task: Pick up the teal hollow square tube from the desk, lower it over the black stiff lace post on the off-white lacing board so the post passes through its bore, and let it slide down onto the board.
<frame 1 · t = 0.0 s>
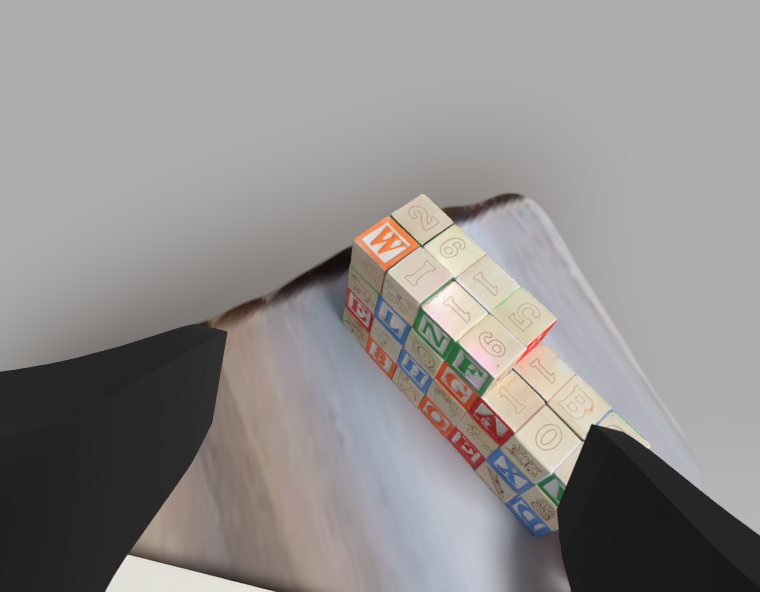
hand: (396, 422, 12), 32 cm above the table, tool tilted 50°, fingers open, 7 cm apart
stack of blocks: (458, 400, 47), on the table
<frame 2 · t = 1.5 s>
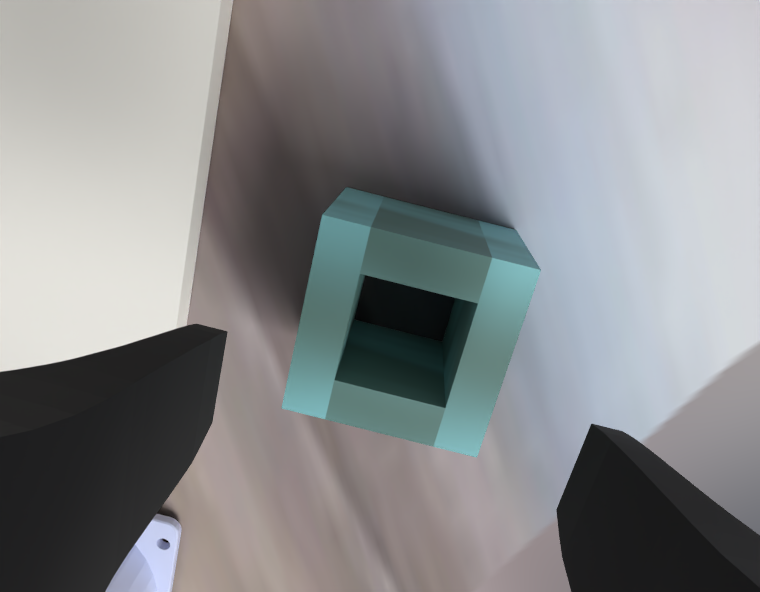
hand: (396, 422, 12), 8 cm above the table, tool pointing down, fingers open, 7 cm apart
teal hollow square tube: (409, 288, 20), on the table
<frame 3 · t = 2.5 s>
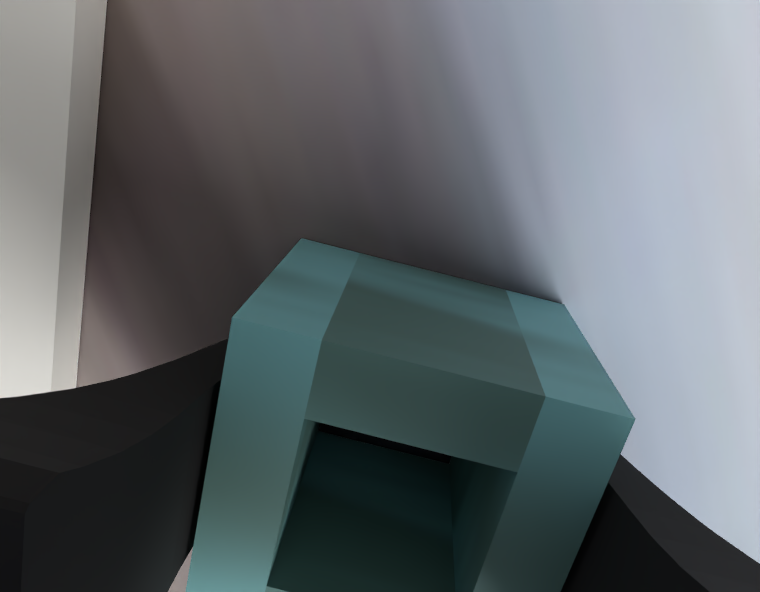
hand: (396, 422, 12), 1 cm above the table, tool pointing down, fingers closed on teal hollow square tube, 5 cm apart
teal hollow square tube: (399, 388, 13), on the table, touching gripper
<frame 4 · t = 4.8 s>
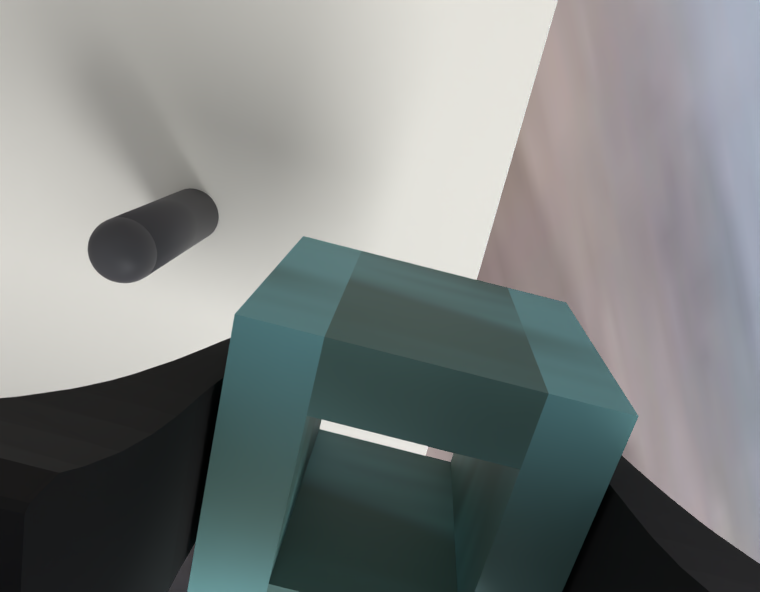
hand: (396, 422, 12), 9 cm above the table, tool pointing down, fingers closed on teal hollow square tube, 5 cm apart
teal hollow square tube: (401, 386, 13), point 7 cm above the table, touching gripper
lacing board: (204, 208, 20), on the table
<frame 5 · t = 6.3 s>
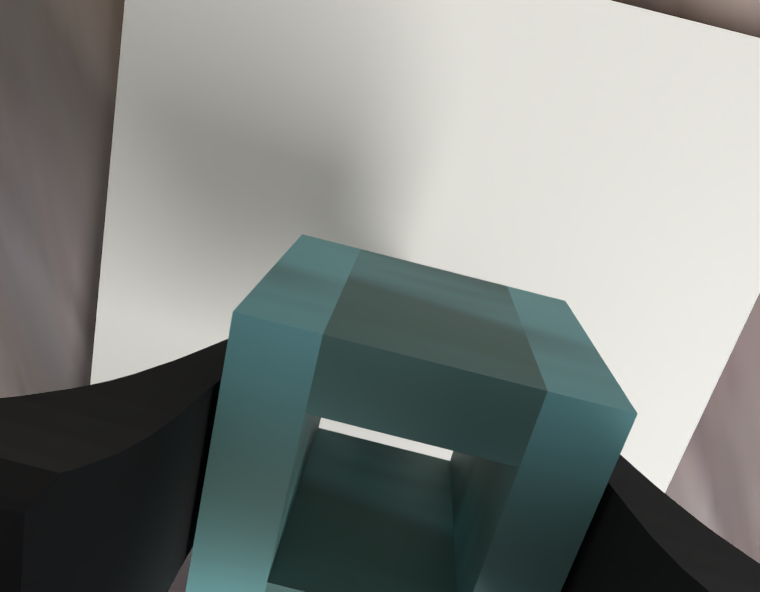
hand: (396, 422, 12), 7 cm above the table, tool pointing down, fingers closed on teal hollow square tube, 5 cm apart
teal hollow square tube: (400, 385, 13), point 6 cm above the table, touching gripper
lacing board: (409, 303, 18), on the table
when the fingers open (4 cm above the table, at t = 7.4 s): teal hollow square tube drops 2 cm, resting on lacing board.
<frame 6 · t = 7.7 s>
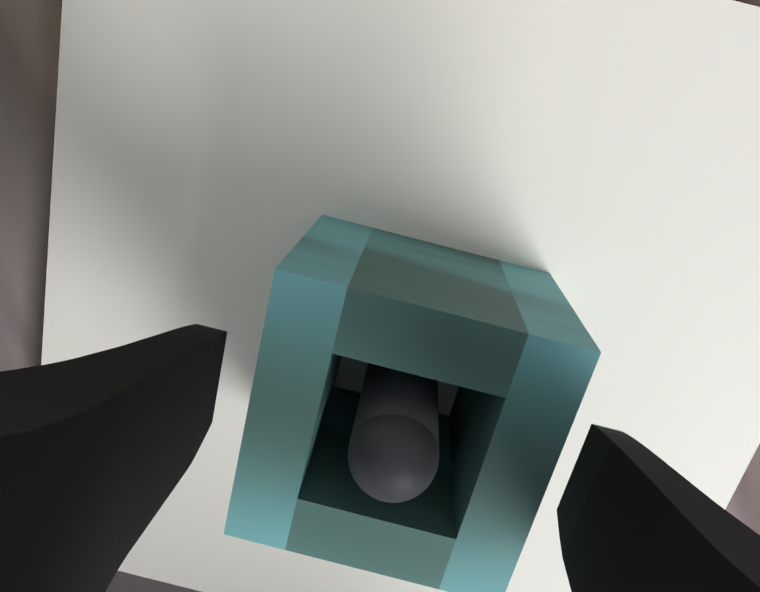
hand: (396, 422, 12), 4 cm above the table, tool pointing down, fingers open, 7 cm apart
teal hollow square tube: (406, 348, 15), point 1 cm above the table, touching lacing board
lacing board: (405, 335, 16), on the table
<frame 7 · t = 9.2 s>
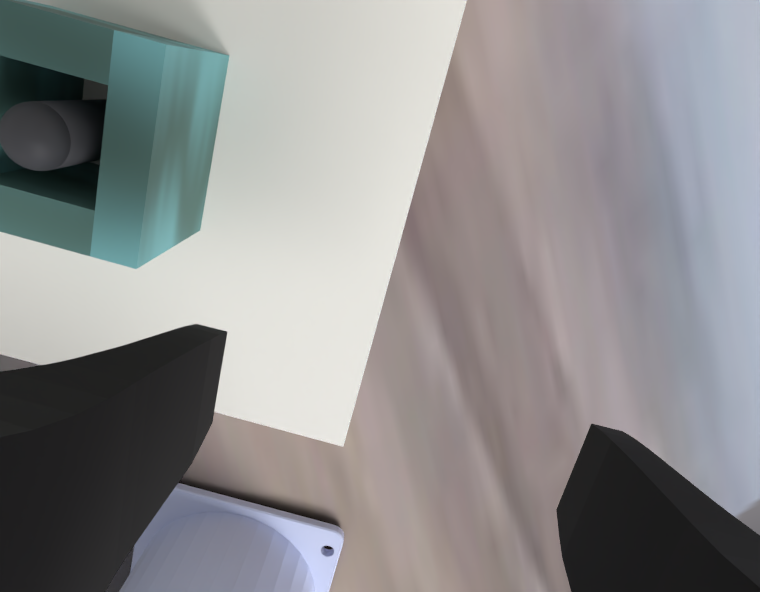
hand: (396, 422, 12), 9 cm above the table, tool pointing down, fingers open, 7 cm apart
teal hollow square tube: (128, 123, 19), point 1 cm above the table, touching lacing board
lacing board: (141, 124, 20), on the table
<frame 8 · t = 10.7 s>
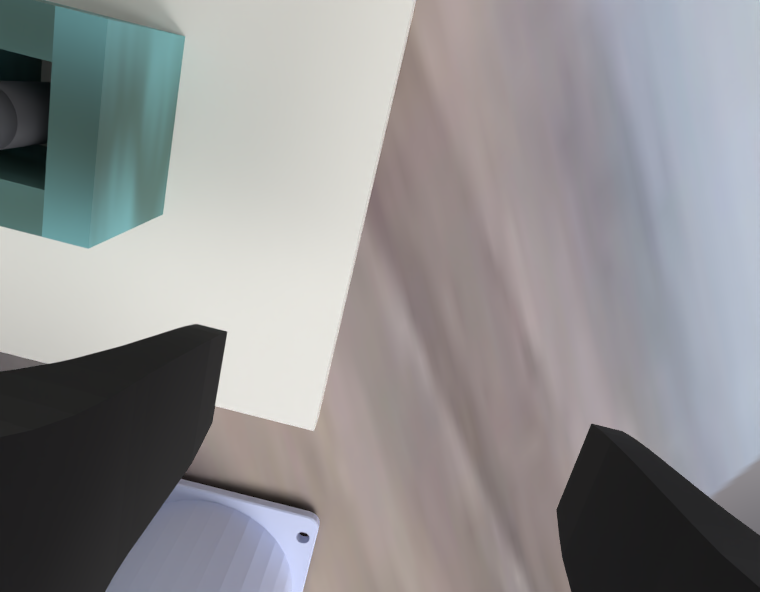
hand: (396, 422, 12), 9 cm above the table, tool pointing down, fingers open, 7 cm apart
teal hollow square tube: (87, 107, 19), point 1 cm above the table, touching lacing board
lacing board: (102, 109, 20), on the table
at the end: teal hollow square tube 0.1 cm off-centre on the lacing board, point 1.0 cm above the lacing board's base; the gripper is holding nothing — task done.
